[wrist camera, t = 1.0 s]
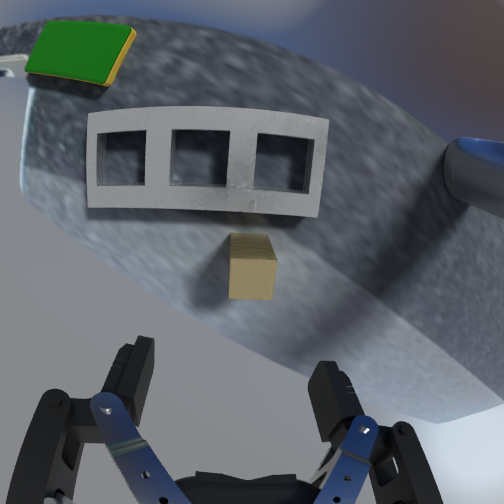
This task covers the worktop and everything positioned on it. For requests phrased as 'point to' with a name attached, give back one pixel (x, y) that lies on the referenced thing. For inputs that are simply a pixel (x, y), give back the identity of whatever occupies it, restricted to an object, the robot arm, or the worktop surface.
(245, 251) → the brass peg
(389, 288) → the worktop surface
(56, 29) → the dish sponge
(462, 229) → the worktop surface
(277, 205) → the rail plate
